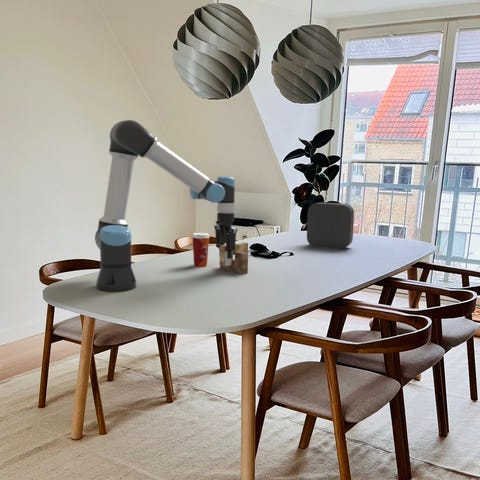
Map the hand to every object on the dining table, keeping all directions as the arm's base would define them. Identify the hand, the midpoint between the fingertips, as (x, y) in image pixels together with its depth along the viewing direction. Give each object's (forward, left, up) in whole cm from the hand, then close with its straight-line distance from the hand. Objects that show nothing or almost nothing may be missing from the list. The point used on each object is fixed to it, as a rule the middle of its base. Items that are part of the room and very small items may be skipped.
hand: (225, 264), depth 239 cm
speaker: (+88, +15, -4) cm, 89 cm away
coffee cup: (-1, +17, -4) cm, 17 cm away
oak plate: (+5, 0, 0) cm, 5 cm away
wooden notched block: (+5, 0, -3) cm, 6 cm away
